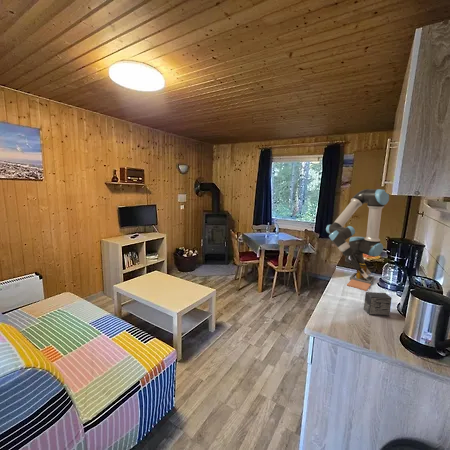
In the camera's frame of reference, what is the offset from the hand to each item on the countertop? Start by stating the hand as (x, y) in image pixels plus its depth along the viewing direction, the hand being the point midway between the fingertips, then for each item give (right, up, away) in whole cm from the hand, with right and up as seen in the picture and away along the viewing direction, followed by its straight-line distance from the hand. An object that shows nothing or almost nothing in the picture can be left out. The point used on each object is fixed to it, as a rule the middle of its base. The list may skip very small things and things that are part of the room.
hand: (368, 275), depth 169 cm
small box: (-21, -11, -41) cm, 47 cm away
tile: (-11, -5, -7) cm, 14 cm away
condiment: (-3, -4, +3) cm, 6 cm away
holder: (-3, -4, +3) cm, 5 cm away
